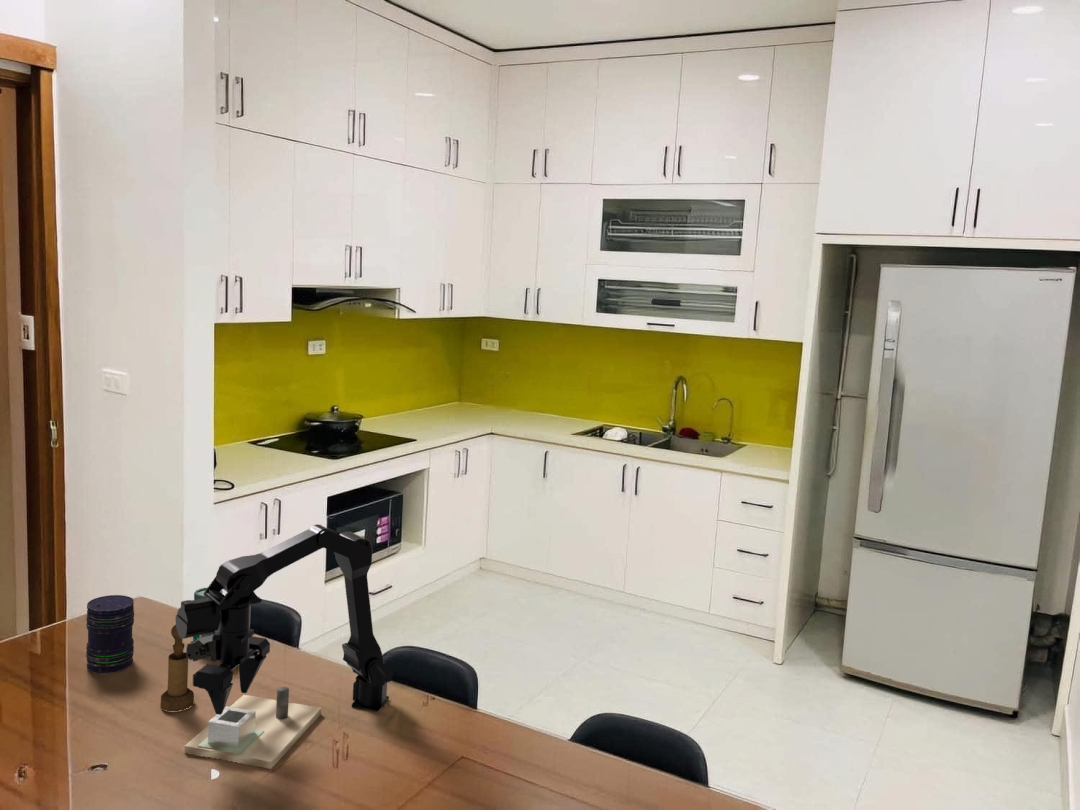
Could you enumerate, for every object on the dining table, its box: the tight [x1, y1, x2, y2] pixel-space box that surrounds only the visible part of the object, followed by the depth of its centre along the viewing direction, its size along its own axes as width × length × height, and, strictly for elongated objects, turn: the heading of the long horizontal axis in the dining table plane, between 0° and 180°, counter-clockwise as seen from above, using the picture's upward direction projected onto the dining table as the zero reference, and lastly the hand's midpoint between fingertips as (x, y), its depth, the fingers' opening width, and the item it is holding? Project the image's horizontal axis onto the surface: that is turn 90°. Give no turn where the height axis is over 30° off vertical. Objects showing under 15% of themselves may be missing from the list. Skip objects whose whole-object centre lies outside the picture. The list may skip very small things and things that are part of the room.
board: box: [183, 686, 322, 770], centre depth 175 cm, size 18×22×8 cm
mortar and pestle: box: [160, 624, 195, 711], centre depth 182 cm, size 7×6×18 cm
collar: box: [207, 705, 256, 749], centre depth 169 cm, size 6×6×4 cm
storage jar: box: [85, 594, 135, 675], centre depth 199 cm, size 10×10×15 cm
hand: (231, 703), depth 168 cm, fingers open, 9 cm apart
